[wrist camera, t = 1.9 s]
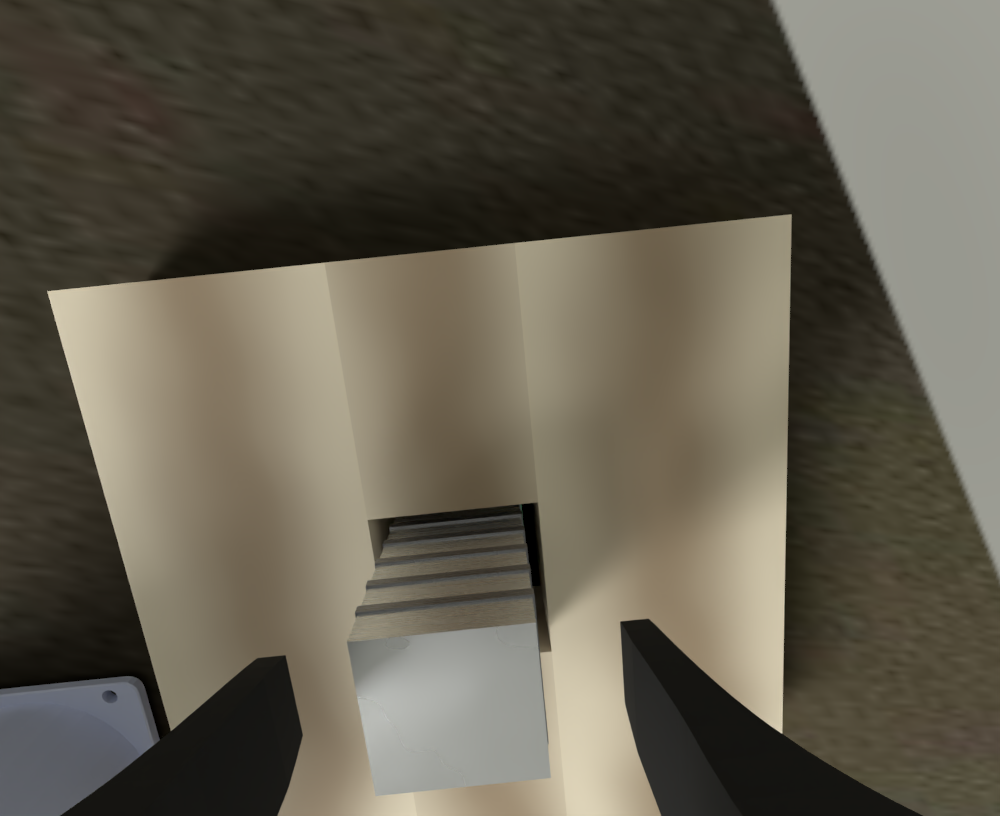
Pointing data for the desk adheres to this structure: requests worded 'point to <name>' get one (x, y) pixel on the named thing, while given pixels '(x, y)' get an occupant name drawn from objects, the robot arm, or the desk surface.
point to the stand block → (453, 473)
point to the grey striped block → (451, 655)
